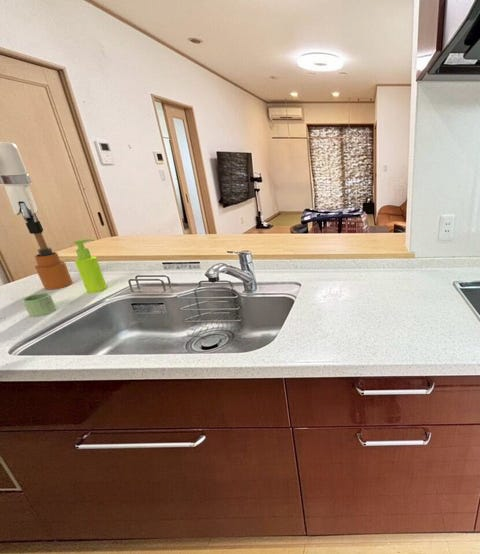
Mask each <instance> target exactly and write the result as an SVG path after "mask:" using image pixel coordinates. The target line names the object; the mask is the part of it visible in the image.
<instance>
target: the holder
mask: <svg viewBox="0 0 480 554" xmlns="http://www.w3.org/2000/svg"><path fill="white" fill-rule="evenodd" d="M21 301H22V303H23V306H24V308H25V310H26V312H27V314H28V316H29V317H31V318H38V317H43V316H47V315H50V314H52V313H55V312H56V311H57V310H58V309H57V306H56V304H55V301H54V299H53V297H52V295H51V293H50V292H42V293H41V292H40V293H35V294H31V295H28V296H26V297H24V298H22V300H21Z"/></svg>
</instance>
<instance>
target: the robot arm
mask: <svg viewBox="0 0 480 554" xmlns="http://www.w3.org/2000/svg"><path fill="white" fill-rule="evenodd" d="M21 155H22V154H21V153H20V151H19V148H18V146H17V145H16V144H15V143H13V142H9V141H0V187H4V189H5V193H6V196H7V198H8V201H9V203H10V205H11V208H12V211H13V214H14V215H16V216H20V215H21V216H22V217H23V220H24V221H25V225H26V228H27V229H28V233H29V234H30V235H34V234H35V233H42V234H43V232H44V228H43V226H42V224H41V221H40V220H39V217H38V215H37V212H38V206H37V203H36V201H35V198H34V196H33V193H32V191H31V189H30V187H29V186H31V185H33V182H32V180H31V177H30V175H29V173H28V169H27V168H26V165H25V163H24V160H23V158H22V156H21Z"/></svg>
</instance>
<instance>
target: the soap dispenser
mask: <svg viewBox="0 0 480 554" xmlns="http://www.w3.org/2000/svg"><path fill="white" fill-rule="evenodd" d="M94 241H95V239H94V238H82V239H77V240H73V244H76V246H77V249H75V253H76V254H77V258H75V259H74V262H75V265H76V268H77V270H78V272H79V275H80V278H81V281H82V284H83V286H84V288H85V290H86V291H85V292H86V293H88V294H96V293H100V292H103V291H106V290H107V289H108V286H107V284H106V281H105V278H104V275H103V273H102V270H101V267H100V264H99V261H98V258H97V256H95V255H91V252H90V249H89V248H88V247H85V244H84V243H85V242H94Z"/></svg>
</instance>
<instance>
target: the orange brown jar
mask: <svg viewBox="0 0 480 554" xmlns="http://www.w3.org/2000/svg"><path fill="white" fill-rule="evenodd" d="M34 259H35V262H36V263H37V264H36V265H35V266H34V268H35V270H36V272H37V275H38V277H39V279H40V282H41V284H42V286H43V288H44V289H45V290H49V291H51V290H57V289H58V290H59V289H62V288H63V289H64V288H66V287H69V286H71V285H72V284H73V283H74V282H73V279H72V277H71V274H70V272H69V269H68V267H67V264H66V261H64V260H61V259H60V257H59V254H58V252H57V251H53V255H49V256H41V257H40V254H39V253H38V254H35V255H34Z"/></svg>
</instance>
